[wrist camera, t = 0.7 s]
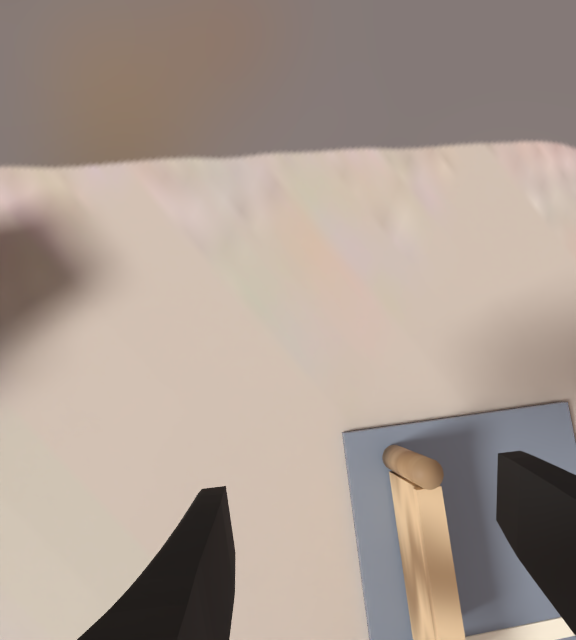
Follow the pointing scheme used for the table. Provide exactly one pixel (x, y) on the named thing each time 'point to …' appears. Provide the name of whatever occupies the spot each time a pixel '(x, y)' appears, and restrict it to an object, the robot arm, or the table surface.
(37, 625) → the table surface
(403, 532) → the oak fence section
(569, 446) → the board
